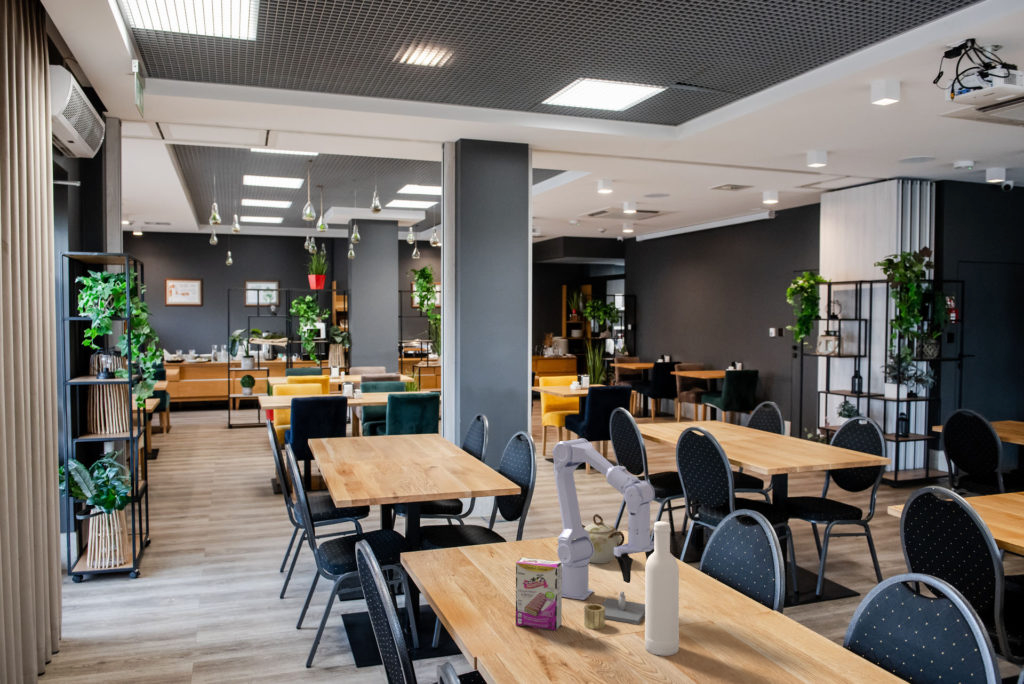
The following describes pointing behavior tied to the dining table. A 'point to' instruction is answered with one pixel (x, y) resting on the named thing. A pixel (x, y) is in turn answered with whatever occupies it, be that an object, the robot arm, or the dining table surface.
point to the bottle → (662, 595)
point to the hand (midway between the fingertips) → (638, 579)
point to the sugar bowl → (603, 540)
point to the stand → (623, 610)
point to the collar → (594, 616)
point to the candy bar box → (539, 593)
